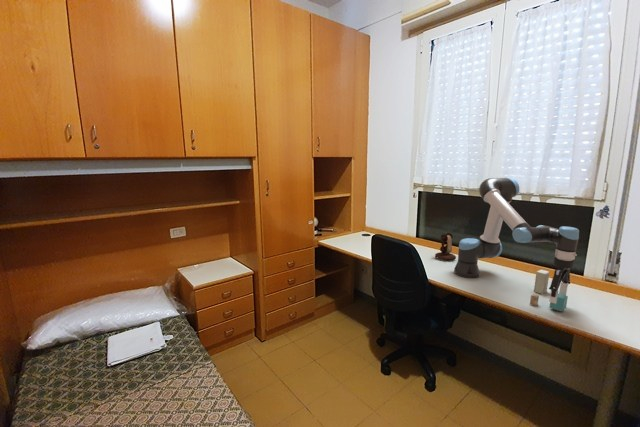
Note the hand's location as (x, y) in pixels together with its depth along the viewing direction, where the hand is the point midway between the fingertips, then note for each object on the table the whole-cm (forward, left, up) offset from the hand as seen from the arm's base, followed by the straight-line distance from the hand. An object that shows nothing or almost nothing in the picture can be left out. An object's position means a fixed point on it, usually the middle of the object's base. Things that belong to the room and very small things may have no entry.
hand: (557, 298), depth 146 cm
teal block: (+1, 0, -5) cm, 5 cm away
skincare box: (-13, +18, -6) cm, 23 cm away
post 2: (0, 0, -6) cm, 6 cm away
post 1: (-9, -3, -6) cm, 11 cm away
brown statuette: (-78, +27, -6) cm, 82 cm away
